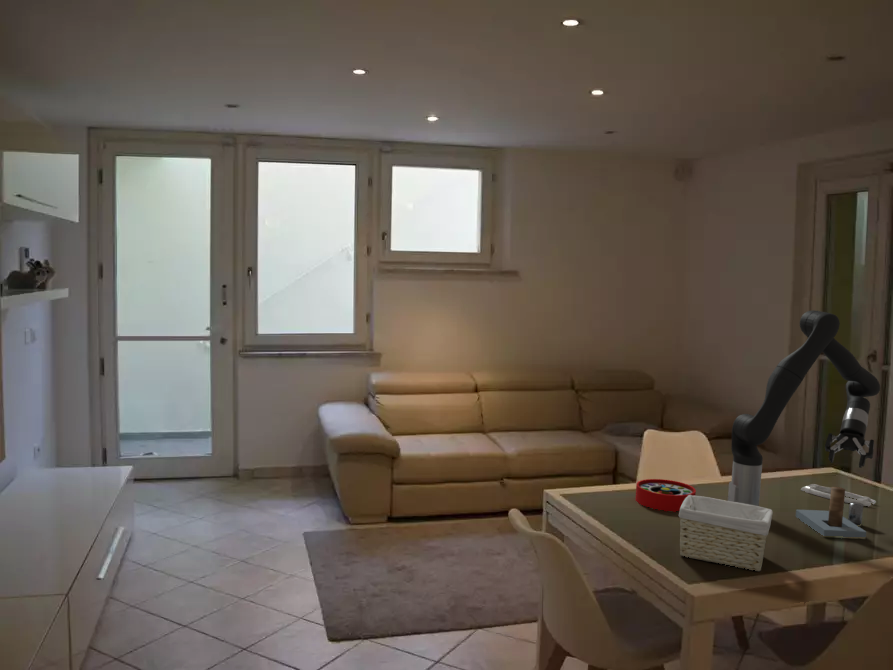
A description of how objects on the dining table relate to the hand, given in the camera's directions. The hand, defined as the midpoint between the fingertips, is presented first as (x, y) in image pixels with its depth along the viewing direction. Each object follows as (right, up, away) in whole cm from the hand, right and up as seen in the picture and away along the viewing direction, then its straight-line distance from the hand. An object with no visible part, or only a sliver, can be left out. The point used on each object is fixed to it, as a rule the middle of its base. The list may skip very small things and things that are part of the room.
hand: (845, 463), depth 256 cm
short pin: (+3, -20, 0) cm, 20 cm away
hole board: (-8, -20, -4) cm, 22 cm away
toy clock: (-55, -16, +16) cm, 60 cm away
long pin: (-8, -20, -8) cm, 23 cm away
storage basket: (-53, -21, -34) cm, 66 cm away
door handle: (+13, -18, +31) cm, 38 cm away
